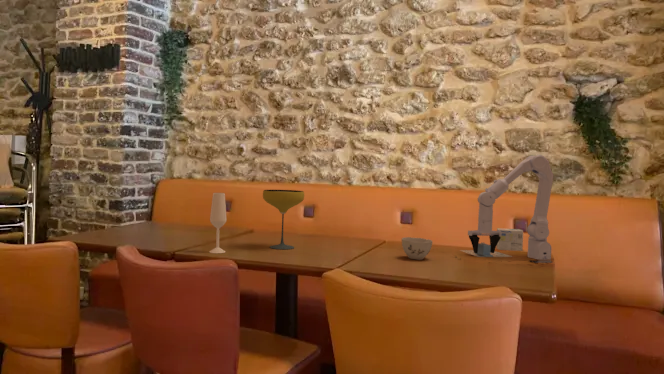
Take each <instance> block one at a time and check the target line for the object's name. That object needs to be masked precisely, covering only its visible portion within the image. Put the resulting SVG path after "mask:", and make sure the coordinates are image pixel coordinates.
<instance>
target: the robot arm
mask: <svg viewBox="0 0 664 374" xmlns="http://www.w3.org/2000/svg"><path fill="white" fill-rule="evenodd" d="M527 172H528V173H529V172H532V173H534V175H536V177H538V179H539V180H538V186H537V191H536V198H535V204H534V210H533V215H532V217H531V218H530V222H529V225H528V226H527V227H526V228H527V229H526V232H527V234H528V235H529V236H528V238H527V239H528V240H527V257H528V258H531V259H535V260H528V262H532V263H535V264H536V263H540V264H541V263H545V264H549V263H550V264H551V263H553V260H552V244H550V243H549V242H548V239H547V238H549V235H550V230H549V221H548V211H549V206H550V200H551V194H552V188H553V182H554V173H553V171H552V169H551V165H550V161H549V160H548V159H547V158H546V157H545V155H542V154H537V155H533V154H532V155H528V156H527V157H526V158H525V159H523V160H521V161H520V162H519V163H518V164H517V165H516V166H515V167H514V168H513V169H512V170H511V171H510V172H509V173H508V174H507V175H506V176H505V177H504V178H502V179H501V178H498V179H494V180H493V183H492V184H491V185H489V187H488V188H487V187H486V188H485V189H484V191H483V192H480V194H478V197H477V202H478V205H479V206H478V214H477V215H478V219H477V221H478V223H477V230H473V229H472V230H467V236H468V238H469V240H470V243H471V245H472V250H473V251H474V253H478V243H479V242H480V237H481V236H482V237H484V236H487V237H488V238H489V245H491V250H490V252H491V253H494V251H496V249H497V243H498V242H499V240H500V236H501V235H502V231H497V230H493V218H494V214H493V213H494V211H493V210H494V204H495V203H496V200H498V199H499V198H500V197H501V196H502V195H503V194H504V193H505V192H507V190H509V185H510V184H511V183H513V182H514V181H515V180H517V178H519V177H521V175H523V173H527ZM479 236H480V237H479Z"/></svg>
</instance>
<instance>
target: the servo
mask: <svg viewBox="0 0 664 374" xmlns="http://www.w3.org/2000/svg"><path fill="white" fill-rule="evenodd" d="M490 250H491V245H490V244H487V243H485V242H481V243H478V253H476V254H478V255H481V256H485V257H484V258H494V257H493V255H490Z"/></svg>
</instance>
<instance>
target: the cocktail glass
mask: <svg viewBox="0 0 664 374" xmlns="http://www.w3.org/2000/svg"><path fill="white" fill-rule="evenodd" d="M262 199H263V200H264V201H265V202H266V203H268V204H269V205H271V206H273V207H274V208H275V209H277V211H279V213H280V214H281V219H282V220H281V238H280V243H279V244H275V245H269V248H270V249H271V250H293V249H295V246H293V245H288V244H285V241H284V220H285V219H284V218H285V217H284V215H285V214H286V213H287V211H289V210H290V209H292V208H293V207H295V206H297V205H299V204H301V203H302V202H303V201H304V199H305V191H303V190H295V189H291V190H290V189H264V190H263V191H262Z"/></svg>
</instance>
